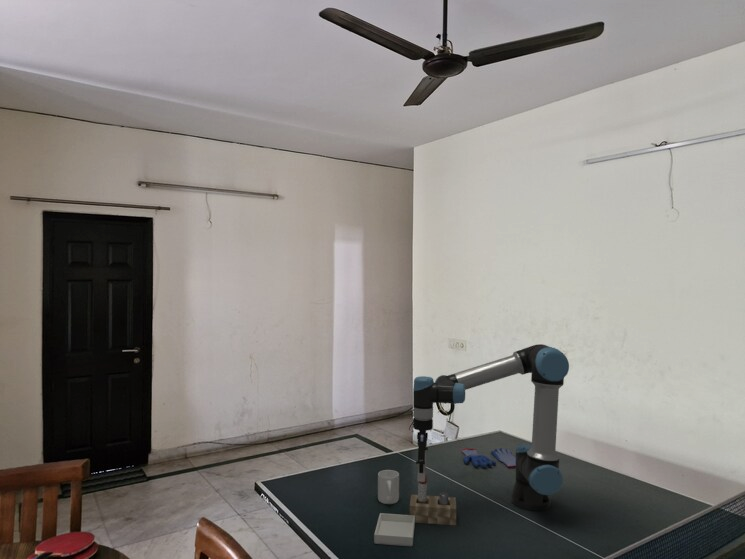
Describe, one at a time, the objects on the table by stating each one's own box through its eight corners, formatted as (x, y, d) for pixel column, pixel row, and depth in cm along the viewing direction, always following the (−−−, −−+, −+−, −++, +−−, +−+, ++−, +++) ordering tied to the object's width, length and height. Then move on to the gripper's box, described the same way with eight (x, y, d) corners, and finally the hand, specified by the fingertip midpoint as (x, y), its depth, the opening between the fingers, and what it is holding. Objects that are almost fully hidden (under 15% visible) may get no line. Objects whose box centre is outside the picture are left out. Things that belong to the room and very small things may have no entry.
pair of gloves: (514, 451, 263) (514, 445, 263) (533, 469, 237) (533, 462, 237) (455, 453, 260) (455, 446, 261) (468, 471, 235) (468, 463, 235)
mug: (378, 508, 194) (378, 481, 194) (377, 495, 206) (377, 469, 206) (400, 508, 194) (400, 481, 194) (397, 495, 206) (398, 469, 206)
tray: (414, 523, 181) (415, 515, 182) (412, 546, 166) (412, 537, 166) (379, 521, 183) (379, 513, 183) (374, 543, 167) (374, 534, 167)
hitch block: (455, 513, 190) (455, 497, 190) (456, 525, 180) (456, 508, 180) (411, 510, 193) (411, 494, 193) (409, 522, 183) (409, 505, 183)
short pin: (448, 516, 187) (448, 492, 188) (448, 520, 184) (448, 496, 184) (439, 515, 188) (439, 492, 188) (439, 520, 185) (439, 495, 185)
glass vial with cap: (427, 515, 189) (427, 474, 189) (426, 519, 185) (426, 477, 185) (418, 514, 189) (418, 473, 189) (417, 518, 186) (417, 477, 186)
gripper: (414, 409, 200) (413, 461, 200) (411, 426, 176) (409, 486, 175) (433, 410, 199) (432, 463, 199) (432, 427, 175) (431, 488, 174)
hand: (421, 474), depth 187 cm, fingers open, 13 cm apart
